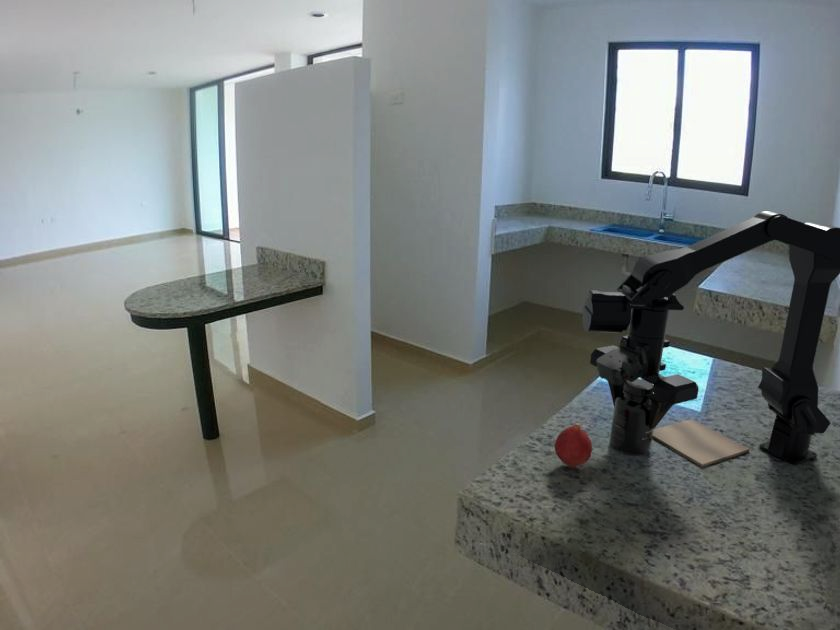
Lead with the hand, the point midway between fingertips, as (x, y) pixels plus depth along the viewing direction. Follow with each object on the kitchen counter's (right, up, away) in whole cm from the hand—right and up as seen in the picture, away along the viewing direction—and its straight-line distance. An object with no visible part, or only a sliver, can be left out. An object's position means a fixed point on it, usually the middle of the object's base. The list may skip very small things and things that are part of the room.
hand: (633, 417), depth 99 cm
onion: (-12, -7, -5) cm, 15 cm away
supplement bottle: (0, -5, +2) cm, 6 cm away
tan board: (+12, -5, +3) cm, 14 cm away
